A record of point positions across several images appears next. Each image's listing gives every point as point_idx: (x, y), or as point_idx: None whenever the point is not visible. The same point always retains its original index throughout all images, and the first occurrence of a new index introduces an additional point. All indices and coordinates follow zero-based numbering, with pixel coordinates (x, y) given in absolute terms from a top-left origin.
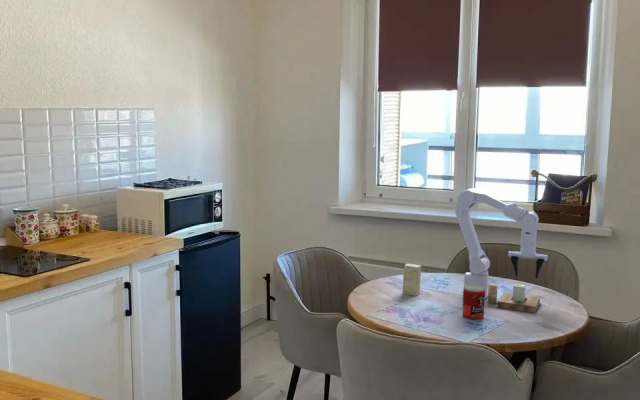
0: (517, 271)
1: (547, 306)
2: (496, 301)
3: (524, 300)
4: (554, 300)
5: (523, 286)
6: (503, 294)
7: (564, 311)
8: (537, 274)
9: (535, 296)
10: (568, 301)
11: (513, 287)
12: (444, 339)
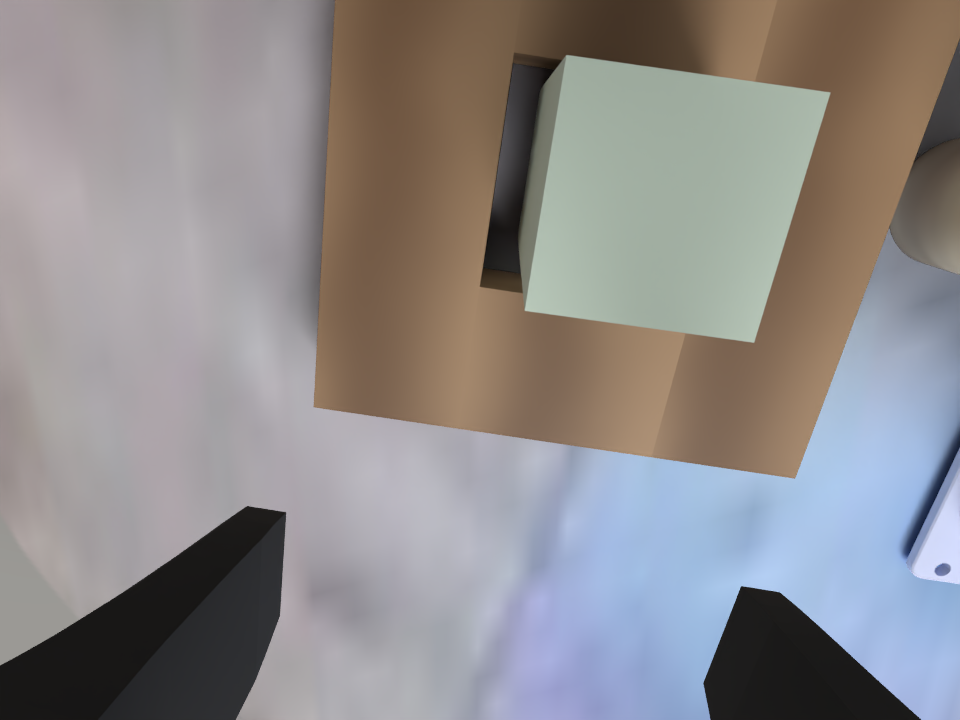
0: (764, 716)
1: (235, 258)
2: (910, 186)
3: (522, 224)
4: (189, 519)
5: (579, 143)
6: (816, 370)
7: (9, 101)
8: (189, 552)
9: (372, 412)
10: (50, 527)
11: (810, 94)
12: None
